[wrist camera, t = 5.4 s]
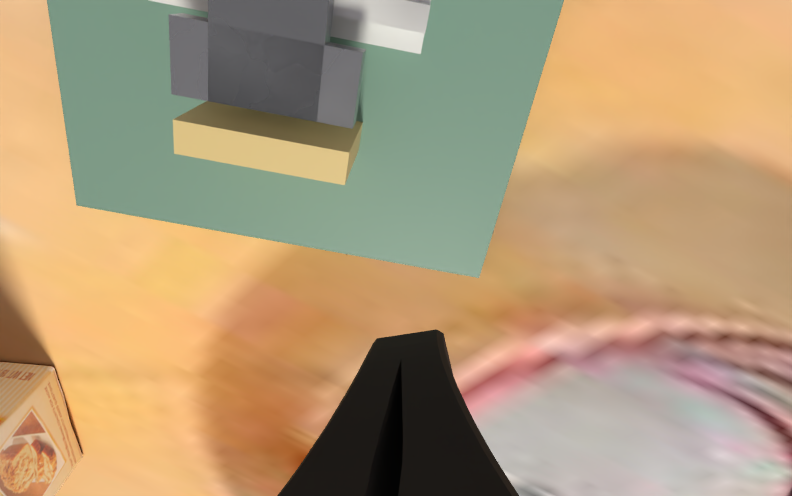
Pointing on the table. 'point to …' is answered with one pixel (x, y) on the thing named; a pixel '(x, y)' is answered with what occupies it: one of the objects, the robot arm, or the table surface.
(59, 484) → the coffeecake box
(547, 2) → the board
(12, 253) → the table surface
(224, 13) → the grey flat bar
